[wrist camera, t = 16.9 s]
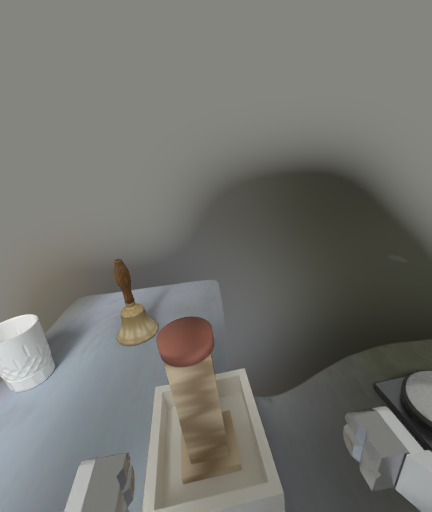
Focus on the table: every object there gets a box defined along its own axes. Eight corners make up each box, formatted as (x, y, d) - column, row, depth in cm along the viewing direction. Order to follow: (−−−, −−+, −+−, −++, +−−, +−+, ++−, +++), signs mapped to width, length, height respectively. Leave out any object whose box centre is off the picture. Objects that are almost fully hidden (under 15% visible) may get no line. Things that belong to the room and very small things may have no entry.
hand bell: (164, 318, 55) (146, 249, 50) (150, 345, 48) (128, 267, 42) (128, 320, 57) (107, 253, 51) (109, 346, 49) (82, 271, 43)
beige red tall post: (183, 484, 26) (147, 364, 20) (182, 426, 31) (154, 320, 26) (241, 470, 26) (222, 349, 21) (230, 415, 32) (213, 309, 26)
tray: (151, 554, 22) (140, 529, 21) (161, 408, 35) (155, 387, 34) (285, 519, 23) (283, 493, 22) (247, 389, 36) (244, 368, 35)
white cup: (-6, 399, 41) (-37, 349, 37) (25, 362, 48) (2, 317, 45) (43, 391, 41) (17, 341, 37) (67, 356, 48) (47, 311, 45)
